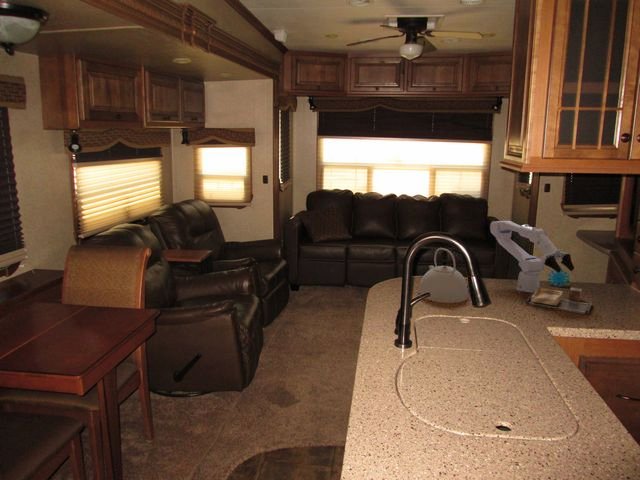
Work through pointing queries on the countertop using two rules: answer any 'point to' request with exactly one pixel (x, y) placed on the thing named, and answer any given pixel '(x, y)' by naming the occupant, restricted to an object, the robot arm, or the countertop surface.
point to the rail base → (564, 306)
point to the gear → (559, 278)
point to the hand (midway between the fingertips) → (566, 270)
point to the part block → (575, 294)
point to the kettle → (444, 283)
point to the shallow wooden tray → (547, 296)
